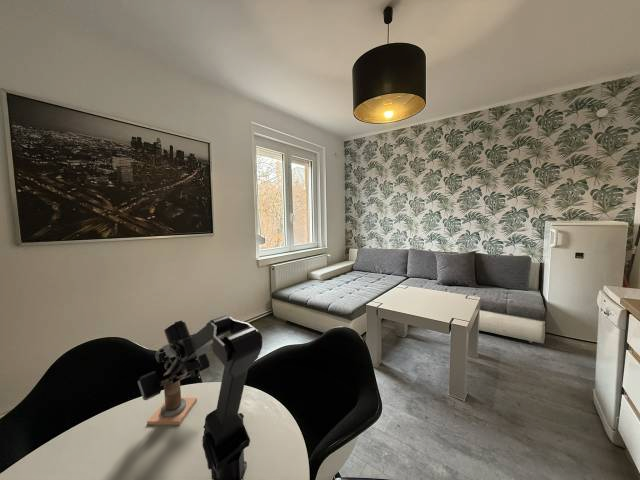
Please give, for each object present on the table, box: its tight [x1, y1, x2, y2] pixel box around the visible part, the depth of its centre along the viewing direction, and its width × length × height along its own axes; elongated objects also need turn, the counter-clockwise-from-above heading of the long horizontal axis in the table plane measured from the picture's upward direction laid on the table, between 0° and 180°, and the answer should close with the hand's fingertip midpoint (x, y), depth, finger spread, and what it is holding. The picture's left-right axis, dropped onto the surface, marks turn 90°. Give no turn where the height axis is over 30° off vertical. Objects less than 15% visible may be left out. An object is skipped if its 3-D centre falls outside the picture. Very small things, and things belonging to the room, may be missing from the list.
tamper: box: [161, 371, 186, 418], centre depth 79 cm, size 7×7×12 cm
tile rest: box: [146, 397, 198, 426], centre depth 80 cm, size 10×10×1 cm
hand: (170, 383), depth 80 cm, fingers open, 9 cm apart
